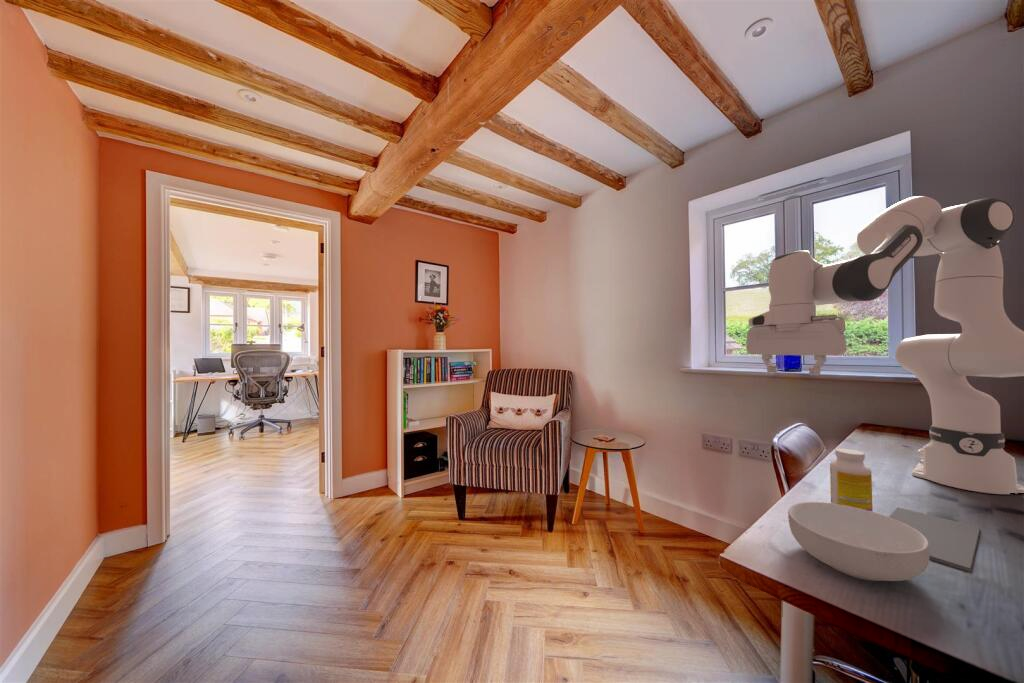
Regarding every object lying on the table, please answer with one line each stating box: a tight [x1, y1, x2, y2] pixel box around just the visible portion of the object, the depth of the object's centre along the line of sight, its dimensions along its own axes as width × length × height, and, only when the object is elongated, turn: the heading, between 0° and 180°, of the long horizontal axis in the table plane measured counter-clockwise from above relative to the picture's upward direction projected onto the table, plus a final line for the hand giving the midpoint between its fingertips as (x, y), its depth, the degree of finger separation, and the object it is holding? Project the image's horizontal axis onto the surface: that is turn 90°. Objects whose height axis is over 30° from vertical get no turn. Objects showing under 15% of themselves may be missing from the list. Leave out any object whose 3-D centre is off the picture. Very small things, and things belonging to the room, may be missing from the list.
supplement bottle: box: [829, 448, 874, 512], centre depth 79 cm, size 7×7×13 cm
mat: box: [889, 506, 981, 573], centre depth 68 cm, size 22×11×1 cm, turn 125°
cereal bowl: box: [787, 501, 930, 582], centre depth 59 cm, size 17×17×7 cm
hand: (792, 373), depth 88 cm, fingers open, 8 cm apart
